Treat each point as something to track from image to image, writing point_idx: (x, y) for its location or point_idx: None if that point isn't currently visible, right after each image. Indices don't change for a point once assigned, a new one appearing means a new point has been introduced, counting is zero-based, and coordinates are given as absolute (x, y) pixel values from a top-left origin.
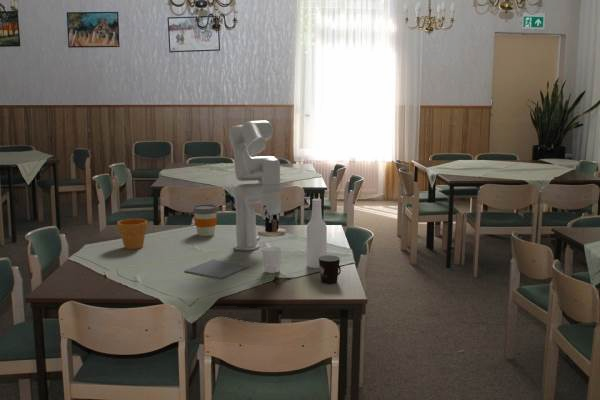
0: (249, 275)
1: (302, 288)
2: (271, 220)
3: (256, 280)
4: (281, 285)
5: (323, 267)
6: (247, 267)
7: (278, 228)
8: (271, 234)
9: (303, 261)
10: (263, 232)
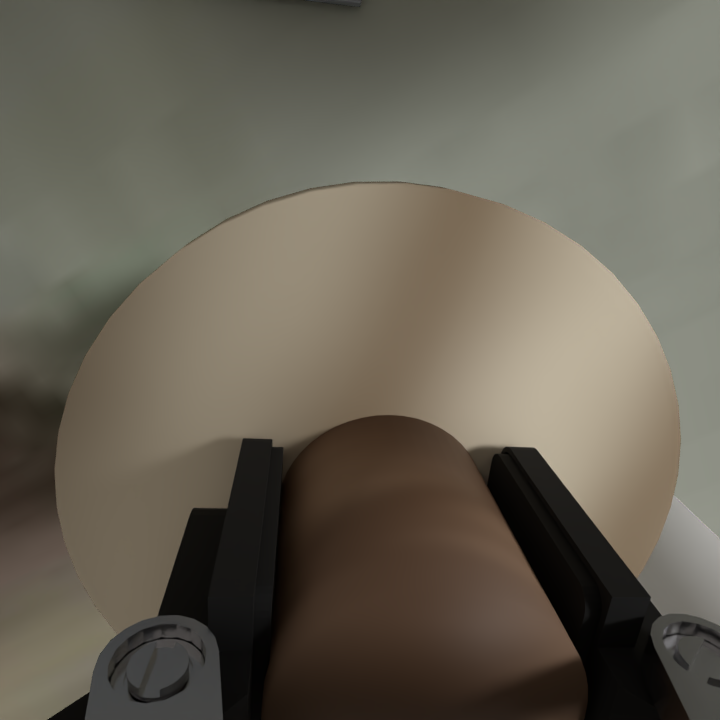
0: (120, 164)
1: (91, 644)
2: (433, 713)
3: (39, 299)
4: (58, 517)
5: None
6: (325, 1)
7: (611, 523)
8: (119, 624)
9: (679, 386)
10: (132, 444)
